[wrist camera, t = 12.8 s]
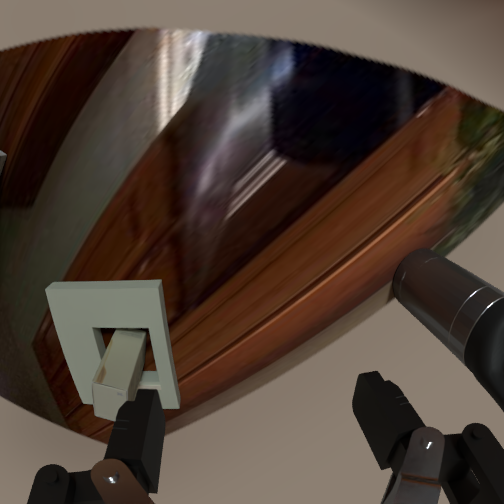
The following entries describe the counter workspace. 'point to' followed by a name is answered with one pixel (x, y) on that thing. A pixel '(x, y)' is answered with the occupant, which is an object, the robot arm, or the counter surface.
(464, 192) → the counter surface
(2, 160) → the coffee box
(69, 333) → the socket board
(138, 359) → the skincare box
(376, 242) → the counter surface
